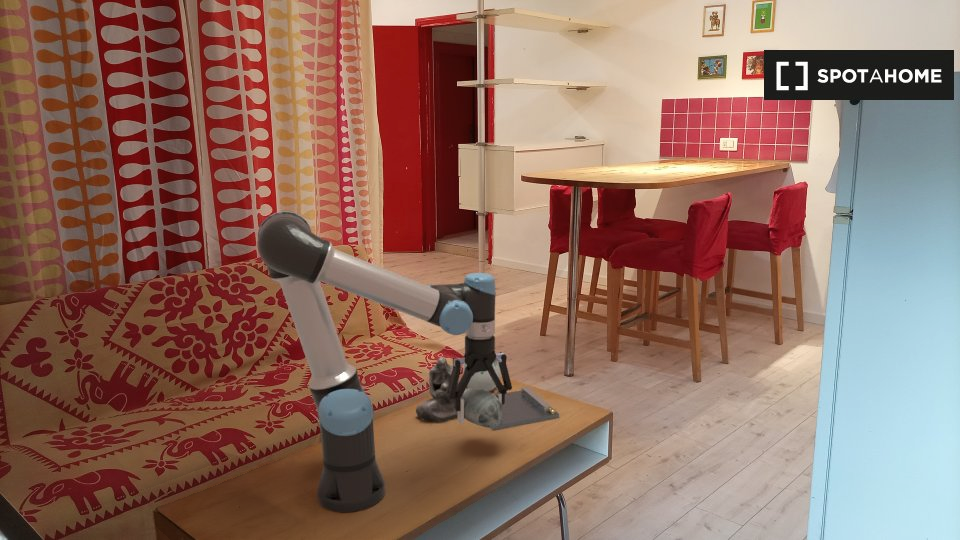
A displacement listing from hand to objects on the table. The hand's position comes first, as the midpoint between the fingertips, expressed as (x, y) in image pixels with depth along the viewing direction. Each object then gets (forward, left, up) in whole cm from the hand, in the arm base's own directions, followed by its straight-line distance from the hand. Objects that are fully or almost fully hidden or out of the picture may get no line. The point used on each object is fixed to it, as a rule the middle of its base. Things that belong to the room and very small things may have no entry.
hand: (479, 419), depth 185 cm
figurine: (-3, +23, -8) cm, 25 cm away
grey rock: (0, 0, -1) cm, 1 cm away
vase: (+15, +37, -8) cm, 41 cm away
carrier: (+17, +18, -8) cm, 26 cm away
